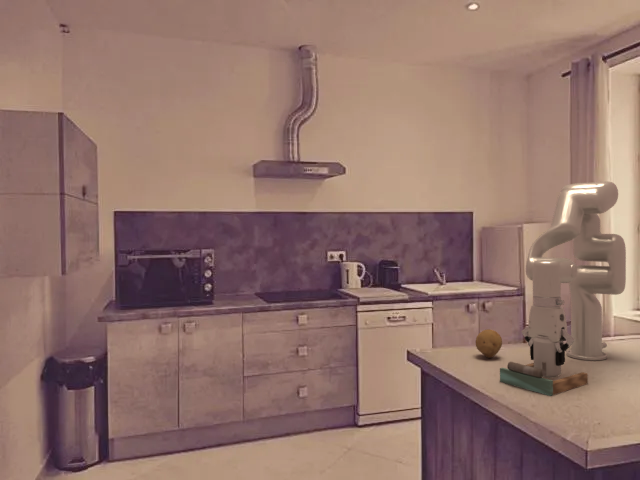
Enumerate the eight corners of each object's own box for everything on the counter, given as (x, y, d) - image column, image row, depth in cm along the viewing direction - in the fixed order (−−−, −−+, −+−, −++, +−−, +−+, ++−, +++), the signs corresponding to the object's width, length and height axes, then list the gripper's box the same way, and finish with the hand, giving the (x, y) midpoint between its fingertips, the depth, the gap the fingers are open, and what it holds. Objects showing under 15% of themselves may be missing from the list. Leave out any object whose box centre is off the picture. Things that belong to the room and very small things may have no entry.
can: (564, 379, 149) (564, 337, 149) (536, 378, 151) (536, 336, 150) (557, 371, 157) (557, 332, 156) (531, 371, 158) (530, 331, 158)
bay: (537, 371, 164) (537, 344, 164) (587, 383, 151) (587, 354, 151) (498, 382, 154) (498, 353, 154) (548, 396, 141) (548, 364, 140)
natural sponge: (498, 362, 176) (498, 333, 175) (472, 359, 180) (471, 330, 180) (504, 356, 183) (504, 328, 183) (479, 353, 188) (478, 326, 188)
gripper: (582, 304, 148) (582, 366, 148) (528, 297, 162) (528, 354, 163) (567, 307, 144) (567, 370, 144) (513, 300, 158) (513, 358, 159)
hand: (547, 361), depth 154 cm, fingers closed on can, 7 cm apart
